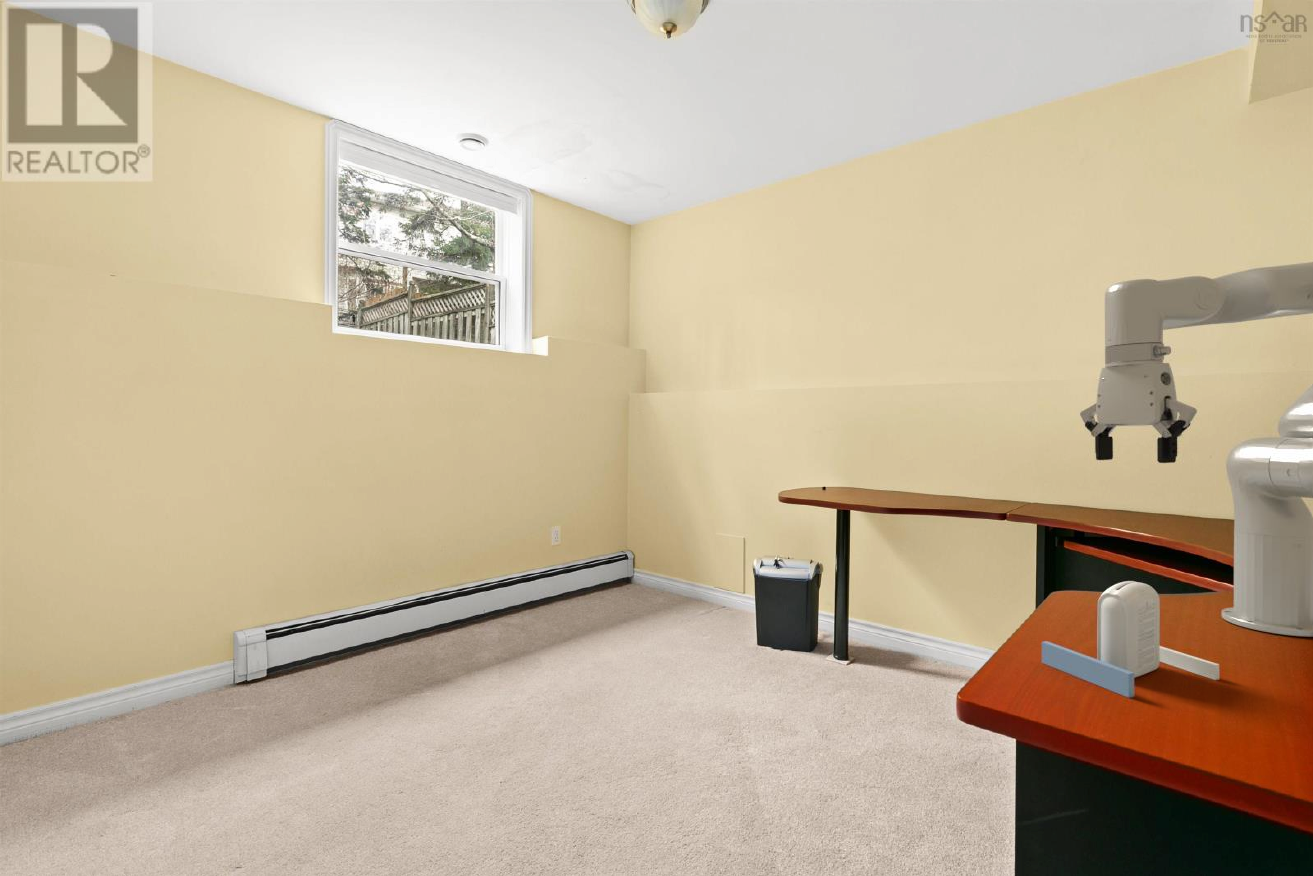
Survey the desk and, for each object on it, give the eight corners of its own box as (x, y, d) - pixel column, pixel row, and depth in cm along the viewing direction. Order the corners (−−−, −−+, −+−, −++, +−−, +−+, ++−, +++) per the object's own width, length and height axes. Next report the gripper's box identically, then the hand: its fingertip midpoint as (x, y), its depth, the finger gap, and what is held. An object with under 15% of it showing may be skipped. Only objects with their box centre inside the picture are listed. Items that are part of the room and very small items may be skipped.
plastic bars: (1126, 648, 93) (1126, 628, 92) (1219, 679, 81) (1219, 657, 81) (1041, 662, 87) (1041, 642, 87) (1128, 697, 76) (1128, 674, 76)
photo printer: (1128, 658, 89) (1129, 574, 88) (1164, 668, 85) (1164, 580, 85) (1091, 673, 84) (1092, 584, 83) (1128, 684, 80) (1128, 591, 80)
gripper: (1210, 351, 93) (1211, 463, 93) (1097, 363, 109) (1098, 458, 109) (1176, 350, 90) (1177, 465, 91) (1066, 362, 107) (1067, 459, 107)
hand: (1134, 461), depth 100 cm, fingers open, 9 cm apart
